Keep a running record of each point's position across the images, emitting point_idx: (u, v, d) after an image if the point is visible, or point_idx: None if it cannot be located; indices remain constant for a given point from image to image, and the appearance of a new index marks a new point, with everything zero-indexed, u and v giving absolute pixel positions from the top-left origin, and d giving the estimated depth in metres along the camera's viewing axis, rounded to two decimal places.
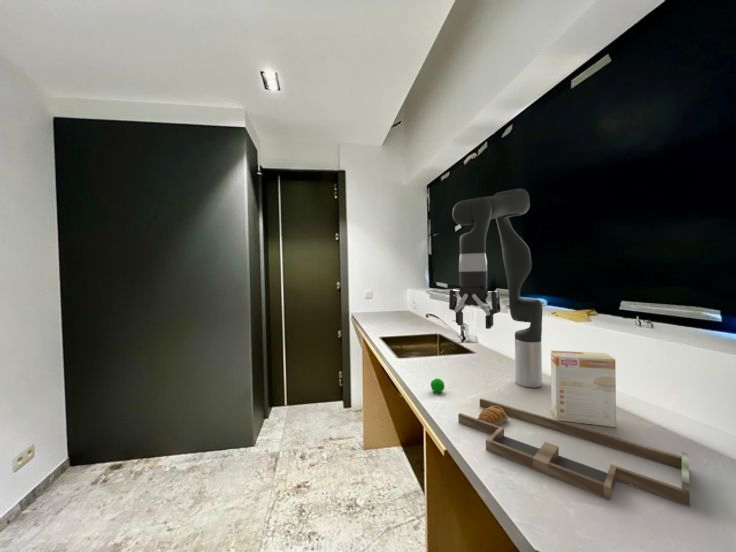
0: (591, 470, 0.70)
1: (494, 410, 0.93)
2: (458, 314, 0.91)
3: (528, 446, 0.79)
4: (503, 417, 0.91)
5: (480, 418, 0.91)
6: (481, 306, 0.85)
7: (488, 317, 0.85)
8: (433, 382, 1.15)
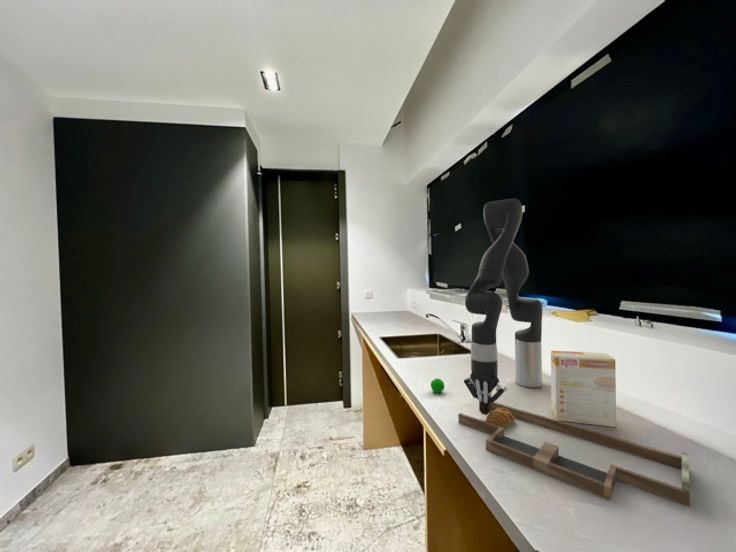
0: (591, 470, 0.70)
1: (502, 412, 0.91)
2: (482, 403, 0.94)
3: (528, 446, 0.79)
4: (511, 419, 0.90)
5: (488, 421, 0.90)
6: (484, 393, 0.93)
7: (485, 404, 0.93)
8: (433, 382, 1.15)
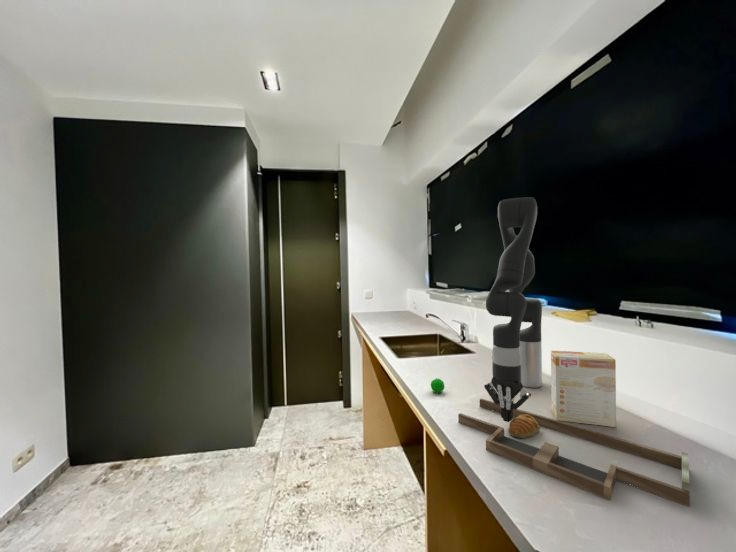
0: (591, 470, 0.70)
1: (526, 419, 0.87)
2: (504, 410, 0.89)
3: (528, 446, 0.79)
4: (536, 427, 0.85)
5: (511, 428, 0.85)
6: (507, 400, 0.88)
7: (508, 411, 0.89)
8: (433, 382, 1.15)
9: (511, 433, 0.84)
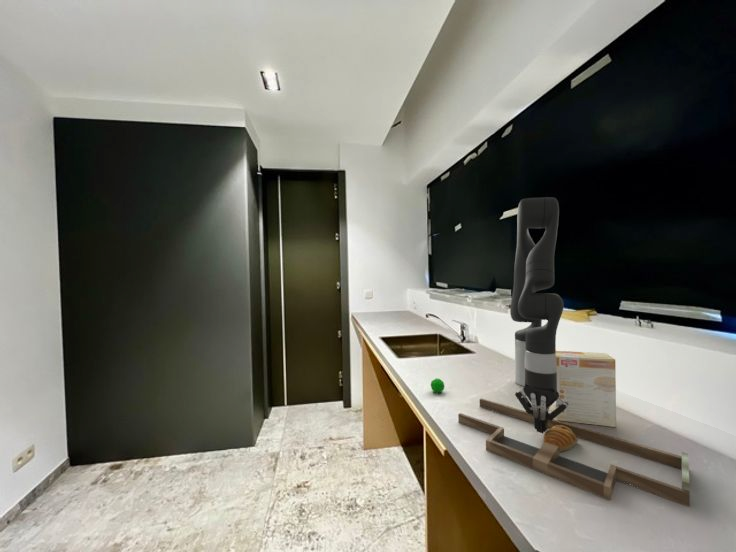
0: (591, 470, 0.70)
1: (562, 431, 0.80)
2: (538, 420, 0.83)
3: (528, 446, 0.79)
4: (574, 439, 0.79)
5: (547, 441, 0.79)
6: (542, 409, 0.82)
7: (542, 422, 0.82)
8: (433, 382, 1.15)
9: None
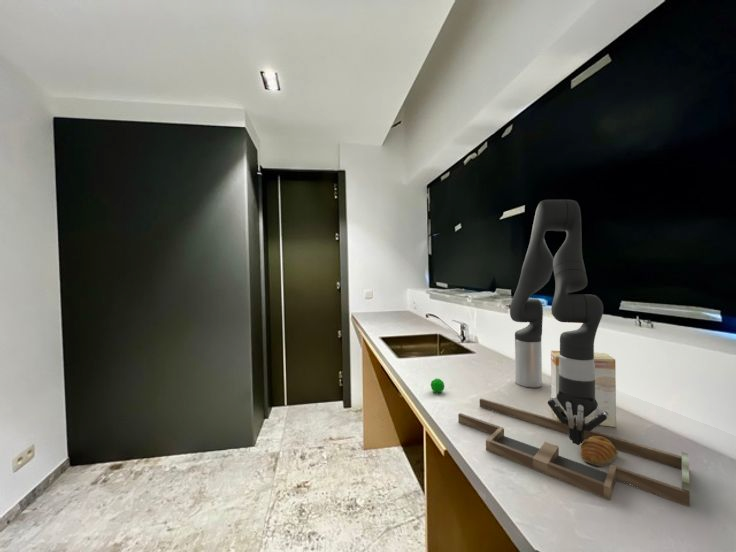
0: (591, 470, 0.70)
1: (601, 443, 0.74)
2: (574, 431, 0.77)
3: (528, 446, 0.79)
4: (614, 452, 0.73)
5: (586, 454, 0.73)
6: (578, 419, 0.76)
7: (579, 432, 0.77)
8: (433, 382, 1.15)
9: (586, 460, 0.72)
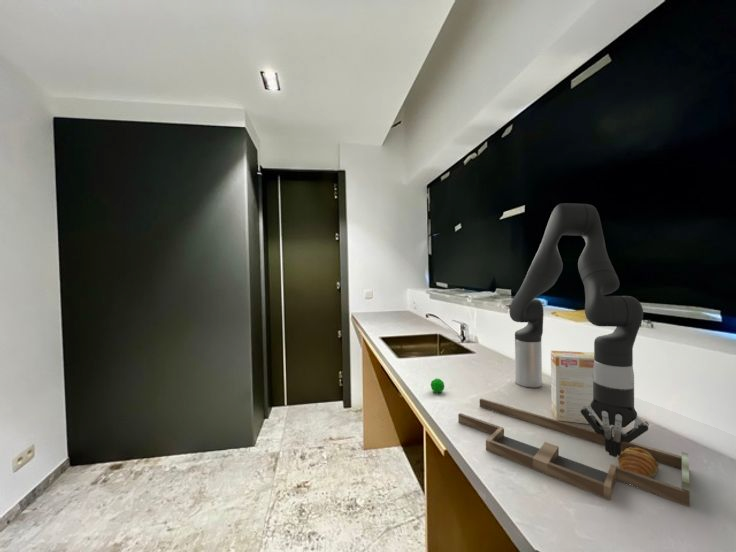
0: (591, 470, 0.70)
1: (641, 456, 0.69)
2: (610, 442, 0.72)
3: (528, 446, 0.79)
4: (656, 465, 0.68)
5: (627, 468, 0.68)
6: (616, 430, 0.71)
7: (616, 444, 0.72)
8: (433, 382, 1.15)
9: None
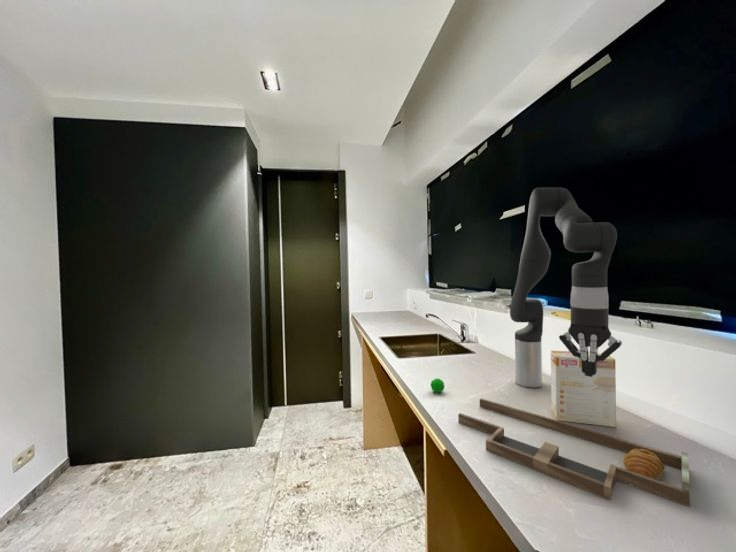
0: (591, 470, 0.70)
1: (647, 457, 0.69)
2: (586, 363, 0.76)
3: (528, 446, 0.79)
4: (662, 467, 0.68)
5: (633, 470, 0.67)
6: (591, 350, 0.74)
7: (592, 364, 0.75)
8: (433, 382, 1.15)
9: None
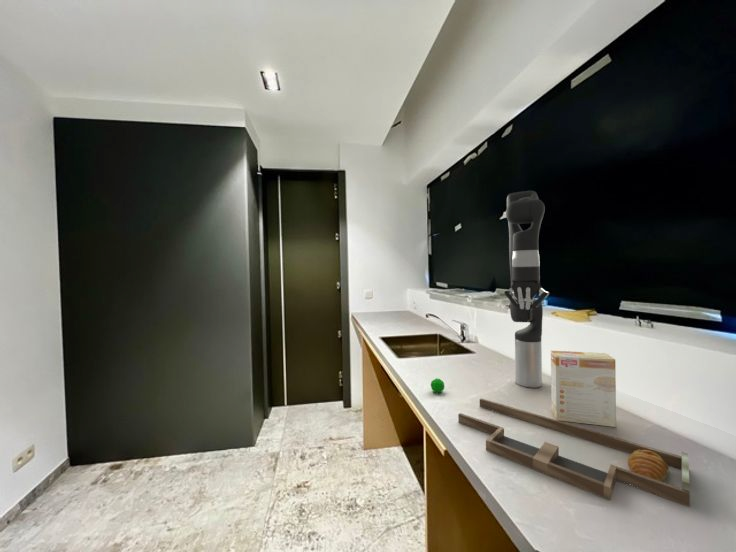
0: (591, 470, 0.70)
1: (651, 458, 0.68)
2: (524, 311, 0.96)
3: (528, 446, 0.79)
4: (666, 468, 0.67)
5: (639, 471, 0.66)
6: (527, 300, 0.95)
7: (528, 311, 0.95)
8: (433, 382, 1.15)
9: None
